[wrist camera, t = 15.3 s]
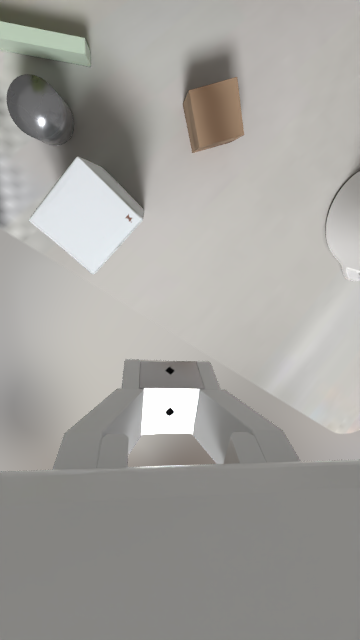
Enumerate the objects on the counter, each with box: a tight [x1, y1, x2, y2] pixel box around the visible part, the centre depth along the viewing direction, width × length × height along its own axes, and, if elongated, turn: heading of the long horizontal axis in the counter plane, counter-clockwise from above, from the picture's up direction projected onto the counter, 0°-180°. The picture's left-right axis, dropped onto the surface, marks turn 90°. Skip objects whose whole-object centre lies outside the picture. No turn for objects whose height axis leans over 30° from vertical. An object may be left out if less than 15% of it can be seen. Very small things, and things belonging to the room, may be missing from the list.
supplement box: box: [29, 156, 144, 274], centre depth 30 cm, size 7×7×13 cm
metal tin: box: [7, 75, 74, 146], centre depth 29 cm, size 5×5×5 cm
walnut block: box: [183, 77, 244, 153], centre depth 31 cm, size 5×5×5 cm
